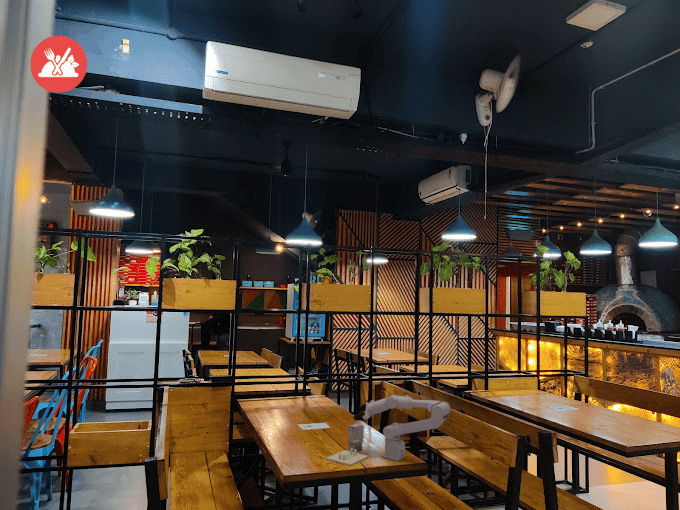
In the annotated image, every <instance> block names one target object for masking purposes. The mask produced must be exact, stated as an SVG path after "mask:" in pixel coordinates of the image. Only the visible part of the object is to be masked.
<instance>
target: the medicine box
mask: <svg viewBox="0 0 680 510" xmlns="http://www.w3.org/2000/svg"><path fill="white" fill-rule="evenodd" d="M364 427H365V426H364V424H361V423H354V424H351V425H349V426H348V443H349V442H350V441H353V440H356V439H359V440H362V442H363V441H364V433H365V432H364Z"/></svg>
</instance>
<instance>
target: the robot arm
mask: <svg viewBox="0 0 680 510" xmlns="http://www.w3.org/2000/svg"><path fill="white" fill-rule="evenodd" d="M395 408H398V409H404V410H405V409H406V410H411V409H412V408H422V409H427V410H428V412H429V413H430V414H431V415H430V418H427V419H421V420H417V421H412V422H411V421H410V422H405V423H399V422H393V423H392V424H390V425H386V426H384V428H383V430H382V434H383V436H384V439H385V440H384V454H382V455H381V458H384V459H390V460H393V461H397V462H398V461H400V460H402V459H405V458H406V443H405V441H404V440H402V439H401V436H403V435H406V434H411V433H418V432H423V431H428V430H435V429H438V428H439V427H440V426H441V425H442V424H443V423H444V422H445V420H447V419H448V417H449V416H450V414H451V411H452V410H451V409H452V408H451V405H450V404H449V402H446V401H440V400H433V399H431V400H429V399H413V397H412V396H409V395H407V394H406V395H403V396H402V395H400V394H392V395H389V396H387V397H385V398H382V399H378V400H376V401H375V400H374V399H372V400H370V401H369V399H368V400H365V402H364V403H363V404H362V405H360V406H359V407H357V411H358V412H359V413H357V414H355V415H353V416H352V418H353V421H356V422H358V421H361V422H365V423H366V422H368V421H369V420H368V419H370V417H373V416H374V415H376V414H379V413H382V412H386V411H388V410H389V409H391V410H393V409H395Z"/></svg>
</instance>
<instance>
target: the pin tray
mask: <svg viewBox="0 0 680 510" xmlns="http://www.w3.org/2000/svg"><path fill="white" fill-rule="evenodd" d="M369 456H370V455H366V454H362V453H359V452H357V449H354V452H353V449H352V448H350V451H349V450H346V449H345V450H342V451H339V452H337V453H335V454H333V455H330V456H327V457H326V458H325V460H326V461H328V460H329V461H328V462H332V461H333V463H336V462H338V463H337V464H339V463H342V464H341V465H343V464H346V465H345V466H347V465H349V466H348V467H352V466H351V465H353V466H355V465H356V463H357V464H359V463H360V461H361V462H364V461H366V460H367V458H368V459H369V458H370V457H369ZM358 462H359V463H358ZM354 464H355V465H354Z"/></svg>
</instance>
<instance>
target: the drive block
mask: <svg viewBox="0 0 680 510" xmlns="http://www.w3.org/2000/svg"><path fill="white" fill-rule="evenodd" d="M350 448H352V449H353V452H354V449H357V453H359V452H361V451H363V441H362V440H359V439H356V440H353V441H350V442H348V451H350ZM358 451H359V452H358Z"/></svg>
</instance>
